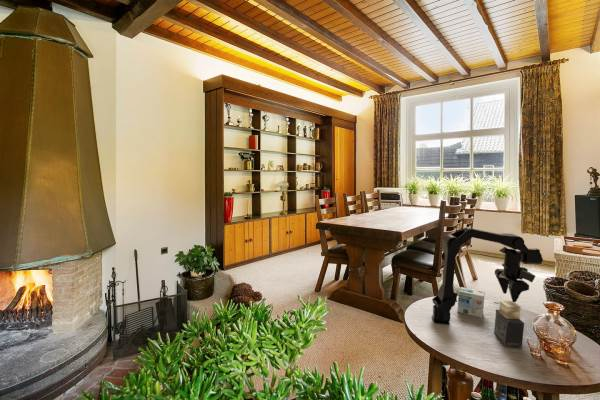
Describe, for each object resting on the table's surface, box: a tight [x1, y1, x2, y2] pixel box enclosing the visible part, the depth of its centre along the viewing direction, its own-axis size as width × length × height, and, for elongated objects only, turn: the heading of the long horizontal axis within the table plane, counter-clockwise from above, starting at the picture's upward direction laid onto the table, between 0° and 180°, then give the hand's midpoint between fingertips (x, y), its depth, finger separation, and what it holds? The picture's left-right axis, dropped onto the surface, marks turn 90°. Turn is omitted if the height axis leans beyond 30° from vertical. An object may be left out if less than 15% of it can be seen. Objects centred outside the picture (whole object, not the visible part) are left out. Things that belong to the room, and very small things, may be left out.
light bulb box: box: [456, 286, 486, 319], centre depth 145 cm, size 11×7×11 cm, turn 55°
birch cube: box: [498, 300, 522, 320], centre depth 121 cm, size 5×5×5 cm
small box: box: [493, 309, 525, 349], centre depth 121 cm, size 11×6×10 cm, turn 168°
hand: (509, 297), depth 132 cm, fingers open, 9 cm apart
